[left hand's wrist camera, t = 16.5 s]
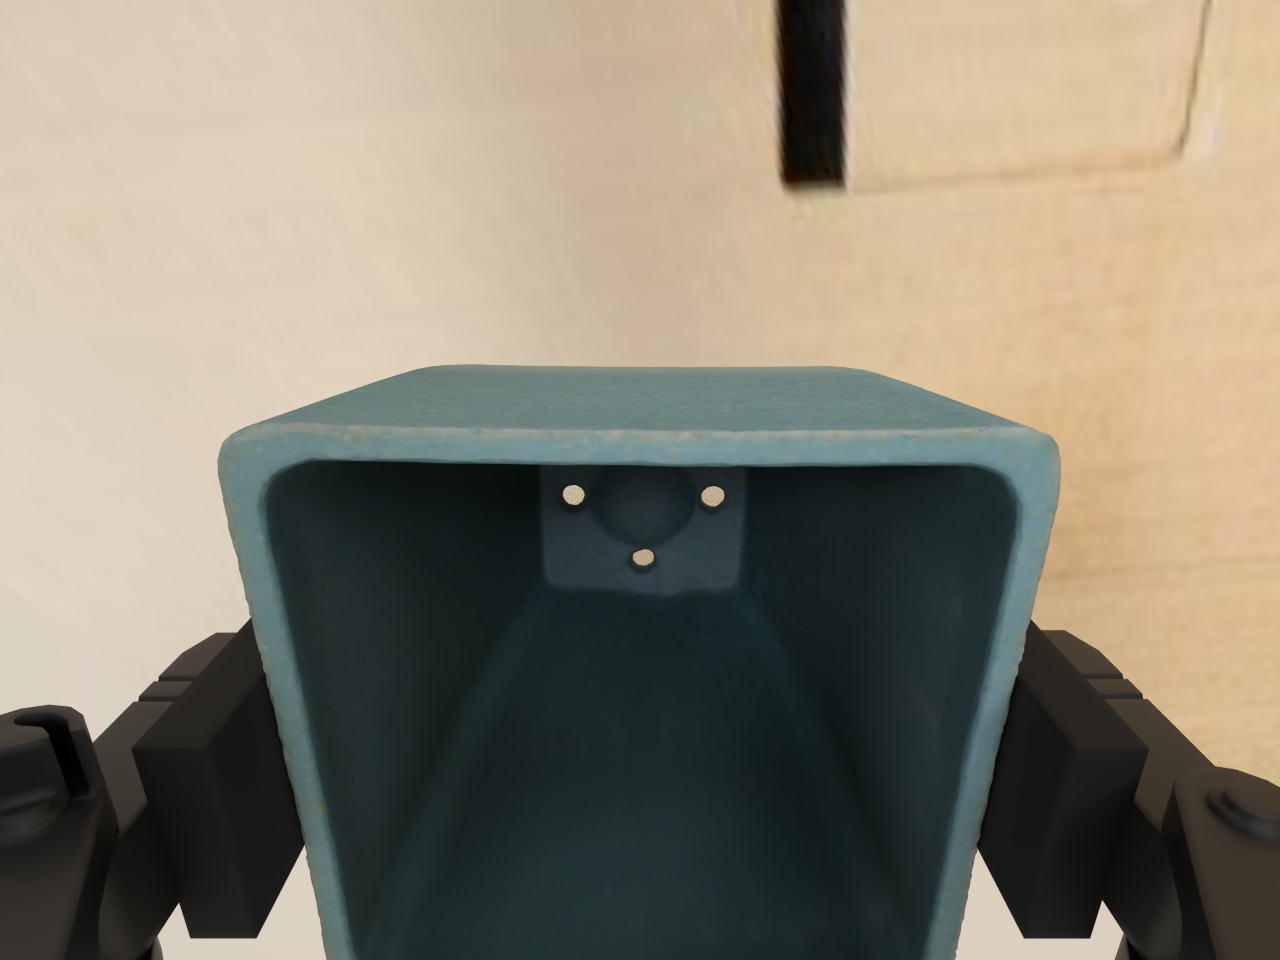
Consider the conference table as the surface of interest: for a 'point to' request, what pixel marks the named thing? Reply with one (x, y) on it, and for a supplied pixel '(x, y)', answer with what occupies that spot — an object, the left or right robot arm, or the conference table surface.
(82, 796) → the left robot arm
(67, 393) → the conference table surface
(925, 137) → the conference table surface
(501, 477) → the square teal planter
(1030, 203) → the conference table surface
